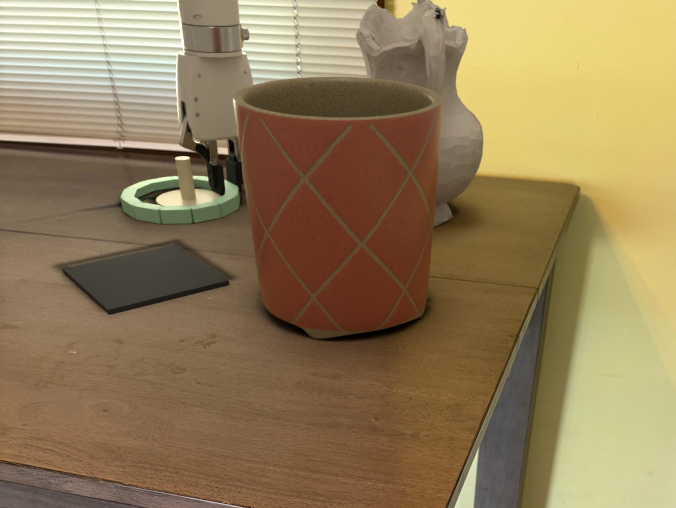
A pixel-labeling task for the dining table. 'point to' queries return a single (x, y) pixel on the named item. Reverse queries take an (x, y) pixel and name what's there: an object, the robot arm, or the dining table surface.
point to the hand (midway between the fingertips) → (226, 190)
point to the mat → (144, 278)
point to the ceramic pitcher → (428, 84)
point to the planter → (340, 198)
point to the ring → (177, 213)
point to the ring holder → (185, 188)
